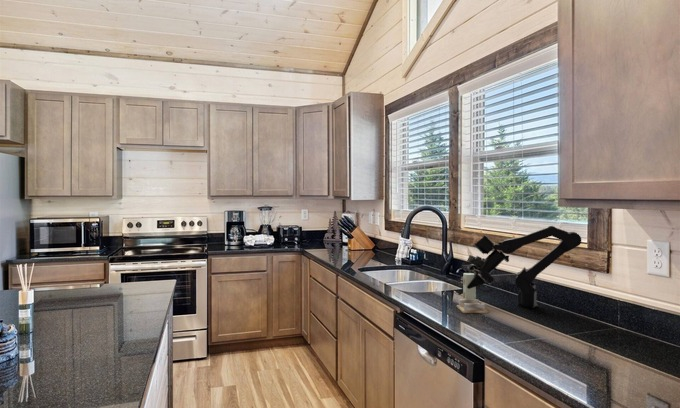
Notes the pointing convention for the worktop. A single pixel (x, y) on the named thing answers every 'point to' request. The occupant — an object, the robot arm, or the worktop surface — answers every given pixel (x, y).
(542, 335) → the worktop surface
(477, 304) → the hinge clip plate
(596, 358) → the worktop surface
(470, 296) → the grey-green rectangular block
